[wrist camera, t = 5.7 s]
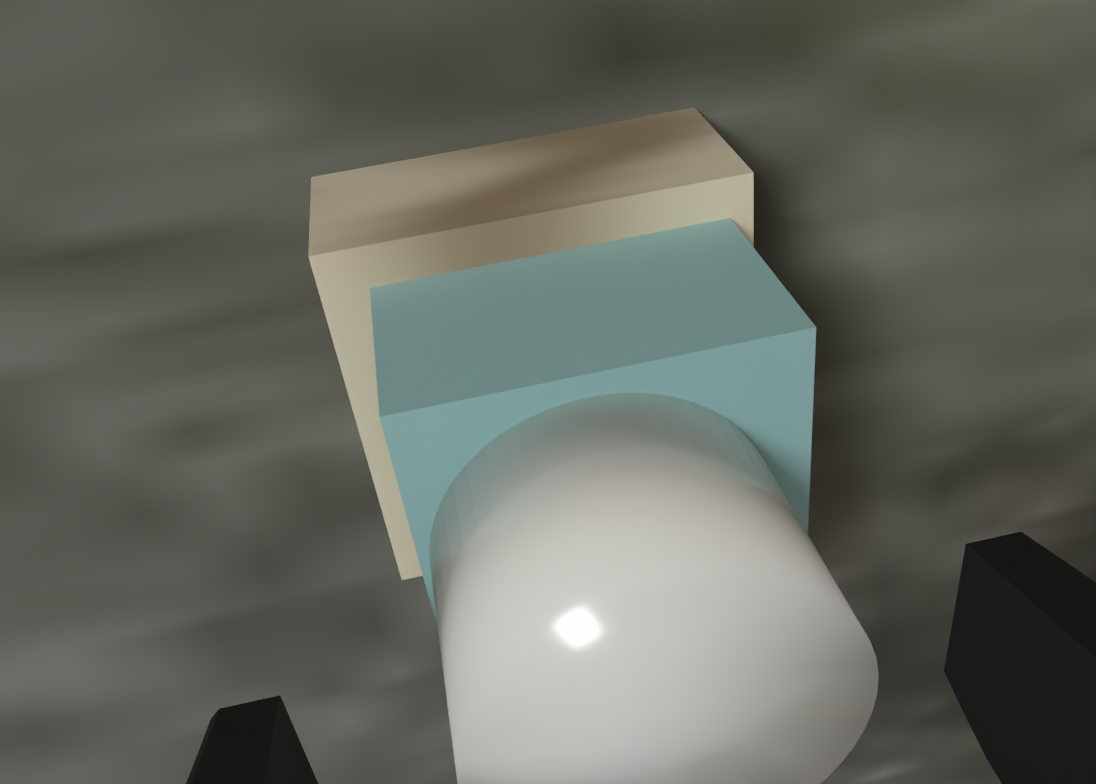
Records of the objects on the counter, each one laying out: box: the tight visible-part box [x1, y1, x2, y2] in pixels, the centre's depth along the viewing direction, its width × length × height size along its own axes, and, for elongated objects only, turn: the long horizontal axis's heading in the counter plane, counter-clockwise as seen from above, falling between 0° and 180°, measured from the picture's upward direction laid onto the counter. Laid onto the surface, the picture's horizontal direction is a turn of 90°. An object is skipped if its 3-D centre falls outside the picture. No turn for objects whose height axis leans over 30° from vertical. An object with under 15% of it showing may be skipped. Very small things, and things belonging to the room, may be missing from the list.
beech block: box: [309, 108, 754, 580], centre depth 16 cm, size 6×6×3 cm
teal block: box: [370, 218, 816, 629], centre depth 14 cm, size 5×5×3 cm
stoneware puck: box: [429, 393, 879, 784], centre depth 11 cm, size 4×4×3 cm
